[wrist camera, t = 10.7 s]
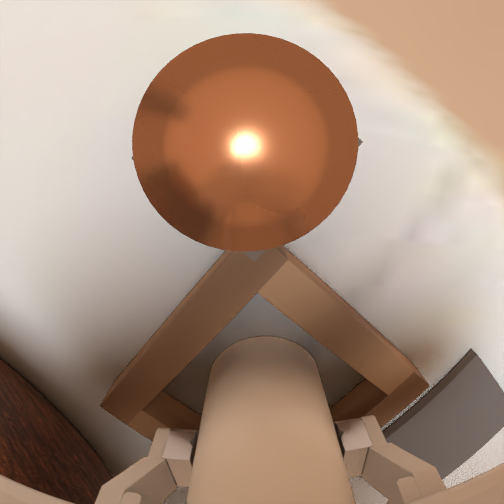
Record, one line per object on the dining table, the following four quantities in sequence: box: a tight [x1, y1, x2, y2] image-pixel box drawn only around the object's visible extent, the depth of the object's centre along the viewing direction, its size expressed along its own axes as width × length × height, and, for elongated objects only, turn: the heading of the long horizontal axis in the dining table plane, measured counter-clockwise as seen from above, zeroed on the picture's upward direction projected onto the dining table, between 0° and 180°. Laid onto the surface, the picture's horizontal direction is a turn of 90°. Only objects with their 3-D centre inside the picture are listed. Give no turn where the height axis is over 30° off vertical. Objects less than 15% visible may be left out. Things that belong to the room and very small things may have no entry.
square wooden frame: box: [100, 138, 429, 441], centre depth 11 cm, size 14×14×4 cm
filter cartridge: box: [186, 336, 355, 504], centre depth 9 cm, size 5×5×10 cm
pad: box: [359, 349, 504, 479], centre depth 15 cm, size 10×10×1 cm
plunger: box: [132, 33, 358, 251], centre depth 8 cm, size 4×4×5 cm
